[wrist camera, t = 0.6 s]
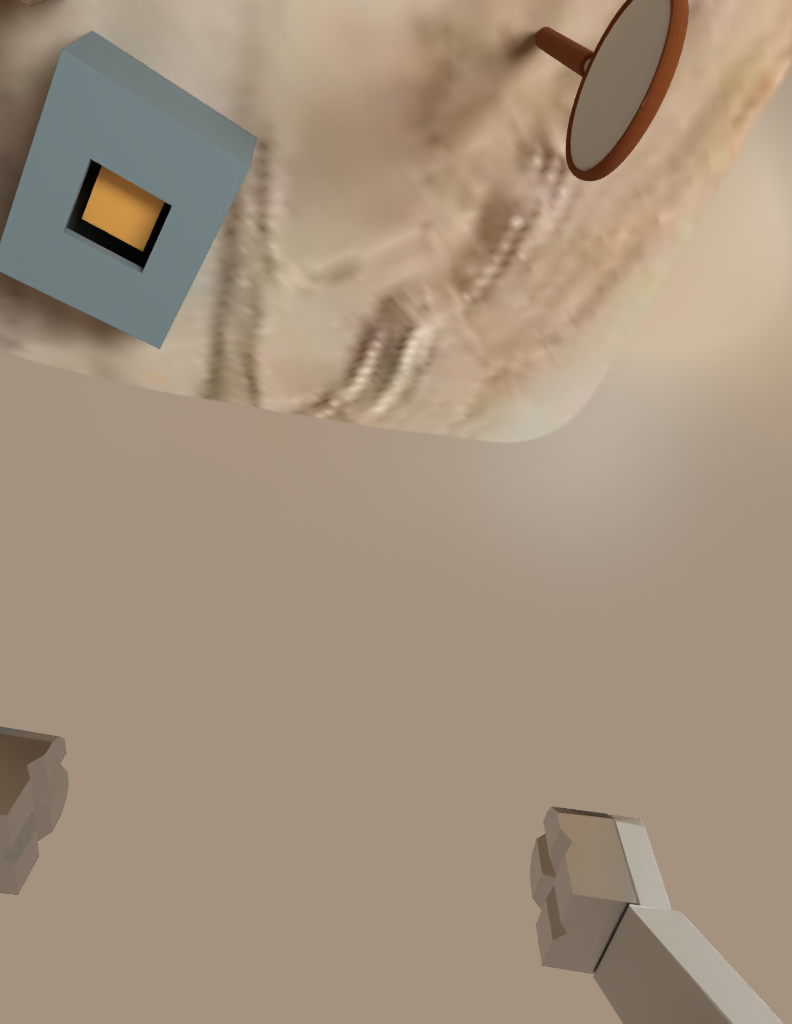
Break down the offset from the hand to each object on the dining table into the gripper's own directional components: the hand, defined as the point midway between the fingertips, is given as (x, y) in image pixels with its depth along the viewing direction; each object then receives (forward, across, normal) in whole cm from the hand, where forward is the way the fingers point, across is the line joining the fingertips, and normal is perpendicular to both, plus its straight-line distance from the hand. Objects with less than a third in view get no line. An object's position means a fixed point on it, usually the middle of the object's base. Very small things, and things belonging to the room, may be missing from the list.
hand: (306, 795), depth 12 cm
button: (+43, +19, -4) cm, 47 cm away
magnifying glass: (+47, -6, -17) cm, 50 cm away
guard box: (+45, +19, -4) cm, 49 cm away
